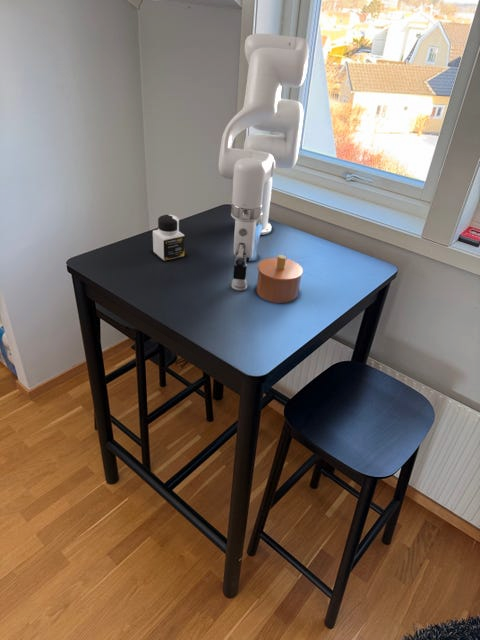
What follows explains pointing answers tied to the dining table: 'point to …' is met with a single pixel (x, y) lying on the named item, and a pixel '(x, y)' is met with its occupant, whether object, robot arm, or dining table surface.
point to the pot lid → (280, 268)
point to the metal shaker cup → (257, 237)
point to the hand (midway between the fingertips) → (241, 269)
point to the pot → (277, 289)
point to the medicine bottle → (168, 238)
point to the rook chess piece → (239, 284)
